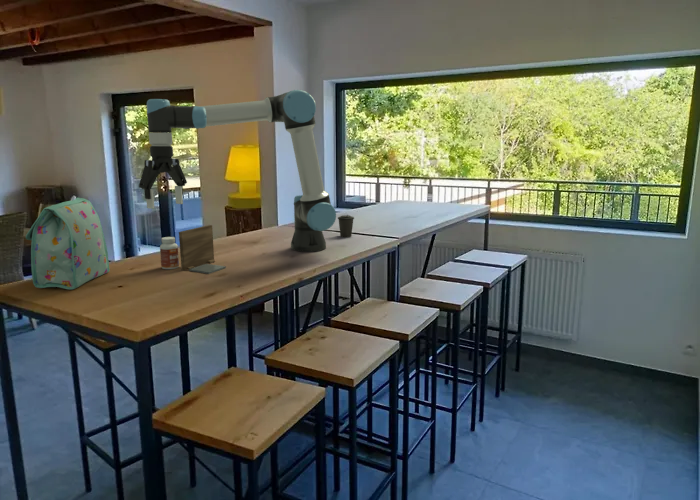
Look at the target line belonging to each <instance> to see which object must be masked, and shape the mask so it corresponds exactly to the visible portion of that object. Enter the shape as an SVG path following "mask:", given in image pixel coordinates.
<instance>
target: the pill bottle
mask: <svg viewBox="0 0 700 500" xmlns="http://www.w3.org/2000/svg"><path fill="white" fill-rule="evenodd" d="M160 241H161V244H160V246H159V255H160V266H161V268H162V269H163V270H173V269H175V270H176V269H178V268H179V267H180V260H179V245H178V244H177V243H176V238H175V236H165V237H161V240H160Z"/></svg>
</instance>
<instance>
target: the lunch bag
mask: <svg viewBox="0 0 700 500" xmlns="http://www.w3.org/2000/svg"><path fill="white" fill-rule="evenodd" d="M25 240H28V241H31V243H30V244H31V246H30V255H31V256H30V260H31V262H30V263H31V265H30V266H31V279H32V284H33V286H34V288H37V289H43V288H44V289H46V288H56V287H57V288H59V289H63V290H75V289H77V288H79V287H81V286H82V285H84V284H85V283H87V282H90V281H91V280H93V279H96V278H98V277H101V276H103V275H105V274H108V273H109V272H110V270H111V269H110V264H109V263H110V260H109V252H108V246H107V243H106V239H105V236H104V231H103V227H102V222H101V219H100V217H99V214H98V212H97V211H96V209H95V207H94V206H93V203H91V201H90V200H89V199H86V198H83V197H76V198H75V199H72V200H68V201H63V202H60V203H57V204H52V205H50V206H47V207H44V208H43V209H42V211H41V212H40V213H39V216H38V217H37V218H36V220H35V221H34V223H33V224H32V225H31V227H30V229H28V231H27V233H26V234H25Z"/></svg>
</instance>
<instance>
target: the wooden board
mask: <svg viewBox="0 0 700 500" xmlns="http://www.w3.org/2000/svg"><path fill="white" fill-rule="evenodd" d="M213 231H214V230H213V225H212V224H208V225H207V224H206V225H203V226H198V227H194V228H190V229H185V230H182V231H178V238H179V239H178V241H179V252H180V254H179V255H180V269H181V271H189V269H192V268H195V267H198V266H201V265H204V264H213V263H215V262H216V261H215V252H214V251H215V248H214V247H215V246H214V232H213Z"/></svg>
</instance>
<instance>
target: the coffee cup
mask: <svg viewBox="0 0 700 500" xmlns="http://www.w3.org/2000/svg"><path fill="white" fill-rule="evenodd" d="M337 219H338V225H339V236H340V237H341V238H351V237H352V236H353V235H352V234H353V228H354V227H353V225H354V220H355V217H354V216H353V215H352V216H351V215H348V214H347V215H340V216H337Z"/></svg>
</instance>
